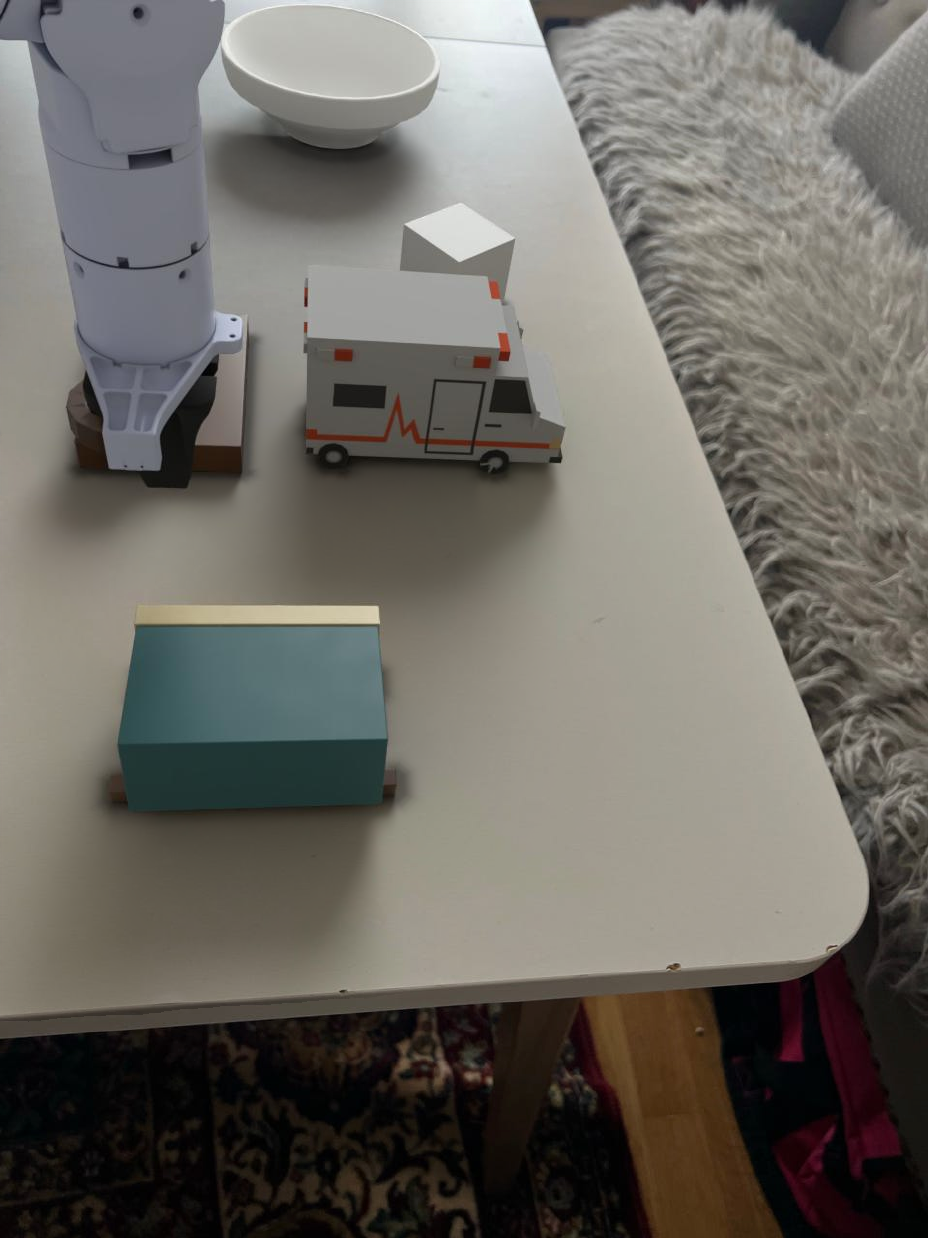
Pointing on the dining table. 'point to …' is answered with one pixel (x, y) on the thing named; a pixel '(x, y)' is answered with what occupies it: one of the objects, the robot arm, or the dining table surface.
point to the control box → (216, 436)
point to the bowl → (330, 71)
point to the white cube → (458, 246)
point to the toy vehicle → (423, 371)
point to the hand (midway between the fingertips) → (168, 478)
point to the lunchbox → (253, 707)
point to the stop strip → (119, 794)
